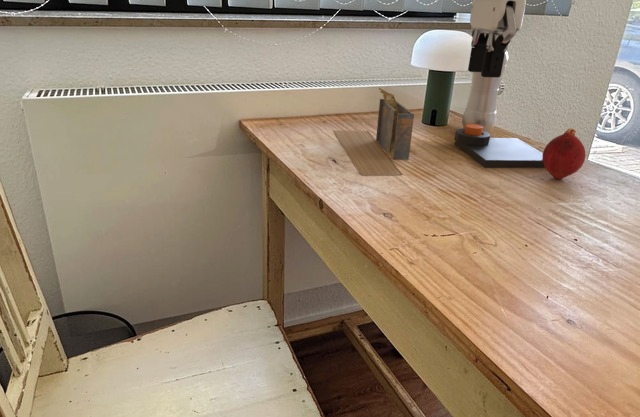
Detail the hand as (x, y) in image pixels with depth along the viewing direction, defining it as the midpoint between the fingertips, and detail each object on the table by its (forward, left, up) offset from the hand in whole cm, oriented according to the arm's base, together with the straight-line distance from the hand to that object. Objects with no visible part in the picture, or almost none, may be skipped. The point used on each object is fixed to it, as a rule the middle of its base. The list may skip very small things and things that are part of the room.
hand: (483, 73), depth 83 cm
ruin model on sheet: (+15, +1, -14) cm, 20 cm away
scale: (-4, +4, -13) cm, 15 cm away
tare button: (0, 0, -11) cm, 11 cm away
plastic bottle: (-6, -11, -14) cm, 18 cm away
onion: (-8, +15, -14) cm, 22 cm away
